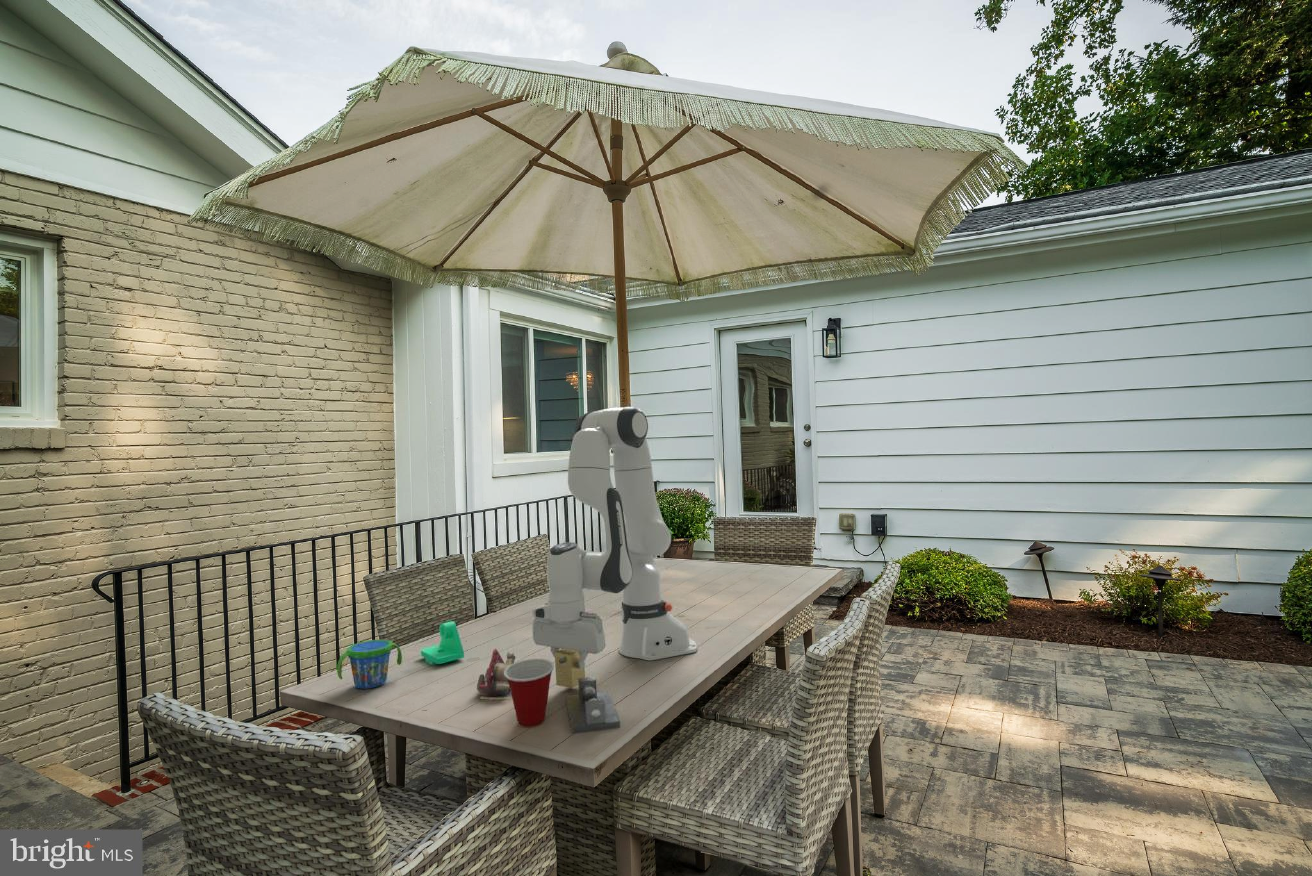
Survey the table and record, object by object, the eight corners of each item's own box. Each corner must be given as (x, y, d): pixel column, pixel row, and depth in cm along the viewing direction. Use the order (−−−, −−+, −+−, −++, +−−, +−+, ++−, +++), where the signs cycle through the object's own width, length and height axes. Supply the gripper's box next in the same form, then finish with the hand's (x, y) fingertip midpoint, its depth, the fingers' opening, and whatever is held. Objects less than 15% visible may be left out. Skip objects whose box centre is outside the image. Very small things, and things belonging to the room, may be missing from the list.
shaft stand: (608, 696, 151) (607, 674, 151) (620, 727, 135) (619, 702, 135) (565, 701, 149) (565, 679, 149) (572, 733, 132) (571, 708, 132)
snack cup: (397, 671, 173) (396, 634, 173) (407, 682, 165) (406, 643, 165) (334, 686, 164) (332, 647, 164) (341, 698, 156) (340, 657, 156)
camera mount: (419, 658, 184) (418, 623, 184) (444, 652, 189) (443, 617, 189) (438, 668, 175) (437, 631, 175) (464, 661, 181) (462, 625, 181)
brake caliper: (480, 674, 163) (504, 638, 162) (511, 699, 162) (536, 663, 161) (462, 690, 152) (488, 653, 151) (496, 717, 151) (522, 679, 150)
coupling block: (571, 676, 160) (569, 645, 160) (587, 679, 158) (585, 647, 158) (554, 686, 155) (552, 653, 154) (570, 689, 152) (568, 656, 152)
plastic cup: (495, 729, 136) (493, 673, 136) (523, 709, 146) (521, 656, 146) (539, 736, 132) (537, 678, 132) (564, 714, 142) (562, 660, 142)
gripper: (609, 610, 153) (612, 667, 154) (543, 603, 164) (546, 656, 164) (593, 617, 148) (596, 677, 148) (527, 609, 158) (530, 665, 159)
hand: (570, 666), depth 156 cm, fingers closed on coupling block, 5 cm apart
